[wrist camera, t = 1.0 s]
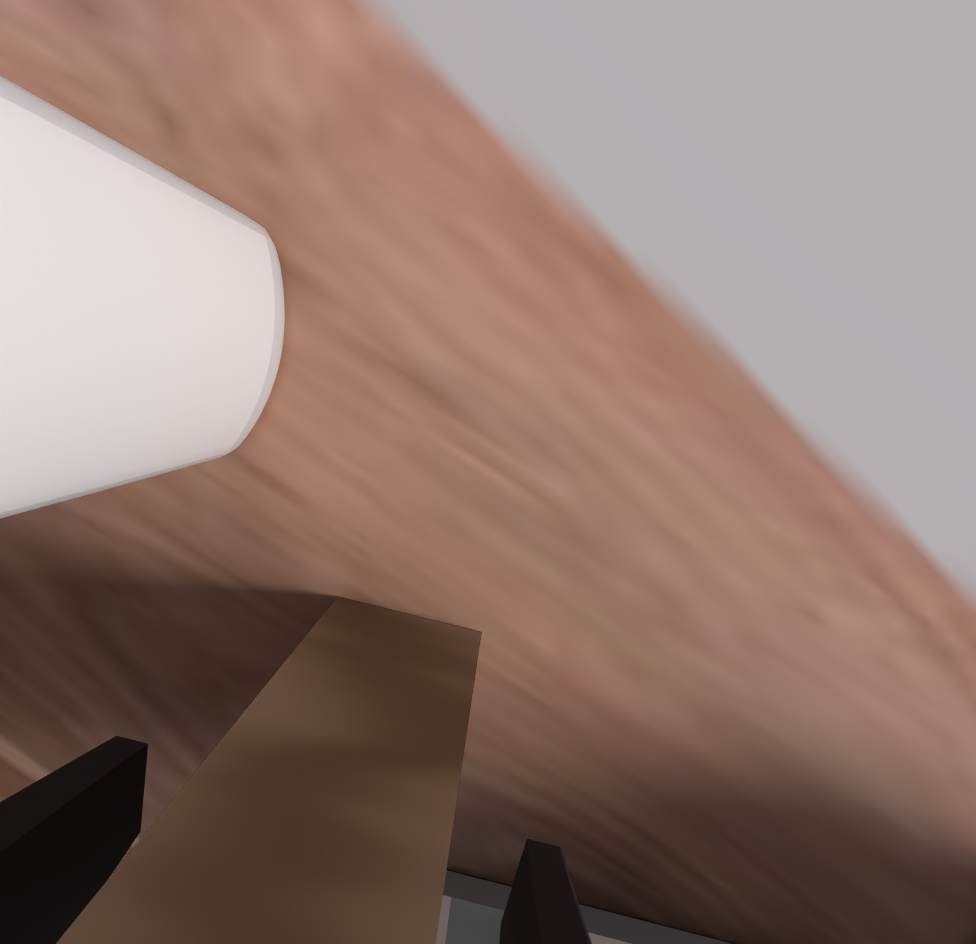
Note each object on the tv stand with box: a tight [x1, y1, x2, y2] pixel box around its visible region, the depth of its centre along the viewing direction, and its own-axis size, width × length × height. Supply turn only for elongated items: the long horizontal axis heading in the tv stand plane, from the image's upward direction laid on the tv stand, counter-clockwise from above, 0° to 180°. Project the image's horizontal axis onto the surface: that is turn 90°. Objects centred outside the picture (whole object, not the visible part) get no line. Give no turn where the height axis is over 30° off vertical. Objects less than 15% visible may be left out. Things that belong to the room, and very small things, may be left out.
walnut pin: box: [56, 597, 482, 944], centre depth 9 cm, size 4×4×9 cm
